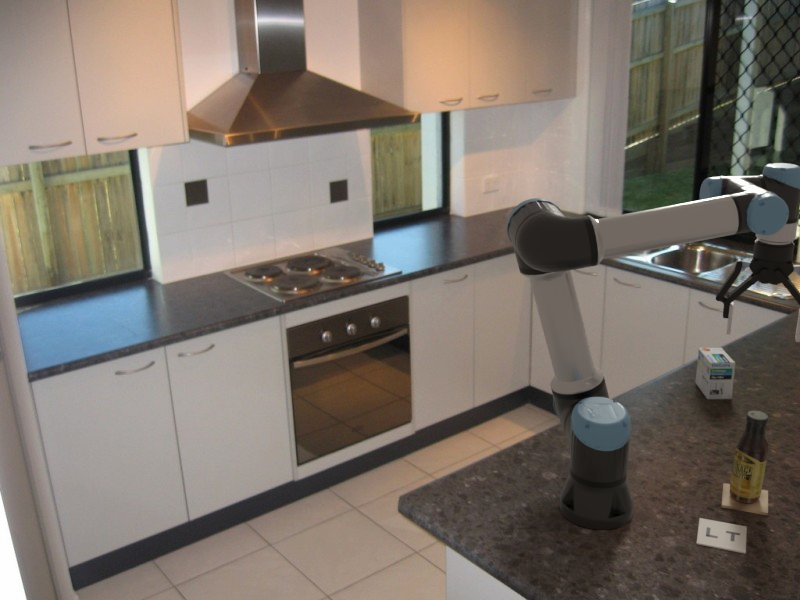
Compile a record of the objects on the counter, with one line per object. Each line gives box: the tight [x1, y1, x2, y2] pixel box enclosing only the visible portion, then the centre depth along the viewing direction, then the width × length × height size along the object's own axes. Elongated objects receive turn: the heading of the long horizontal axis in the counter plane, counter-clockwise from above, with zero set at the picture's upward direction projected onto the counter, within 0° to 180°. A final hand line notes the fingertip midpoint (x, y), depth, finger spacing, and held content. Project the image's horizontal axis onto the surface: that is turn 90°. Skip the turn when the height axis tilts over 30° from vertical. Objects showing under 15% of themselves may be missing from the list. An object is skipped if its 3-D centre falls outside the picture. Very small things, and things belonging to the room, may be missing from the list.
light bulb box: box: [695, 347, 737, 400], centre depth 228 cm, size 11×7×11 cm, turn 179°
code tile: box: [696, 517, 748, 555], centre depth 169 cm, size 9×9×1 cm
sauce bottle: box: [729, 410, 769, 504], centre depth 177 cm, size 6×6×20 cm
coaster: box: [721, 482, 769, 516], centre depth 180 cm, size 9×9×1 cm
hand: (762, 336), depth 181 cm, fingers open, 13 cm apart
